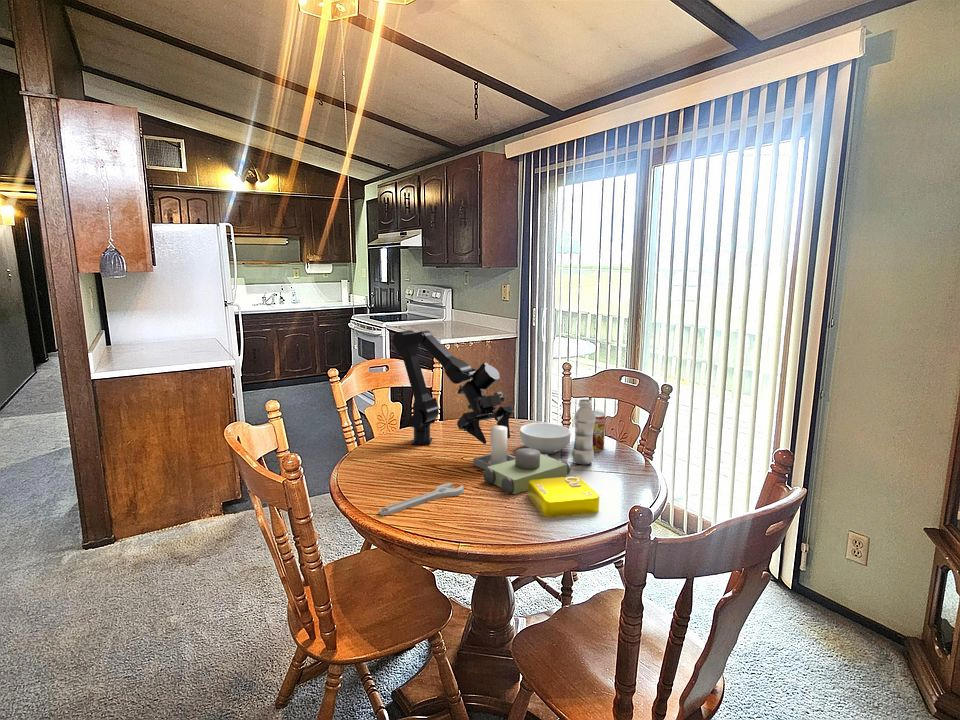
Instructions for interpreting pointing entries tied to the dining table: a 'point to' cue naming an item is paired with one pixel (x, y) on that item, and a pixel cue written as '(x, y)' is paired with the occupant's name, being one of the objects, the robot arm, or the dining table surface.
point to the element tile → (563, 496)
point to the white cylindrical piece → (498, 445)
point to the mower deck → (521, 469)
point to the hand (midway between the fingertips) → (497, 440)
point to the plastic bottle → (584, 433)
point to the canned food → (599, 431)
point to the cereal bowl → (545, 437)
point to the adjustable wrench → (424, 498)
